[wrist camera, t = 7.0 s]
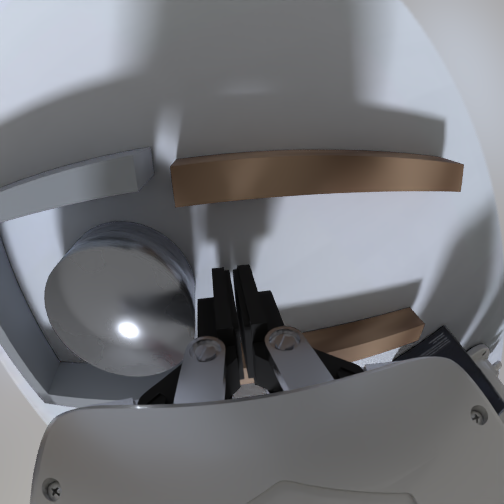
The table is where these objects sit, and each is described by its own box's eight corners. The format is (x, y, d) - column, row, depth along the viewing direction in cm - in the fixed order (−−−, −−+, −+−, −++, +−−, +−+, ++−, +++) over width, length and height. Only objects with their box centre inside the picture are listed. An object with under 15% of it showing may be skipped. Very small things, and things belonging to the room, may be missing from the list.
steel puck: (178, 207, 12) (170, 233, 9) (207, 328, 15) (210, 369, 12) (50, 236, 11) (21, 265, 8) (98, 341, 14) (86, 378, 12)
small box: (386, 362, 20) (444, 459, 11) (444, 321, 19) (511, 402, 10) (393, 404, 25) (430, 473, 15) (438, 373, 24) (481, 436, 15)
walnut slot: (439, 156, 12) (463, 164, 11) (404, 322, 18) (418, 340, 16) (176, 159, 11) (170, 166, 9) (211, 362, 16) (213, 388, 14)
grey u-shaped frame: (151, 146, 10) (132, 154, 8) (197, 371, 16) (199, 409, 14) (-23, 197, 9) (-55, 216, 6) (55, 372, 15) (44, 402, 12)
